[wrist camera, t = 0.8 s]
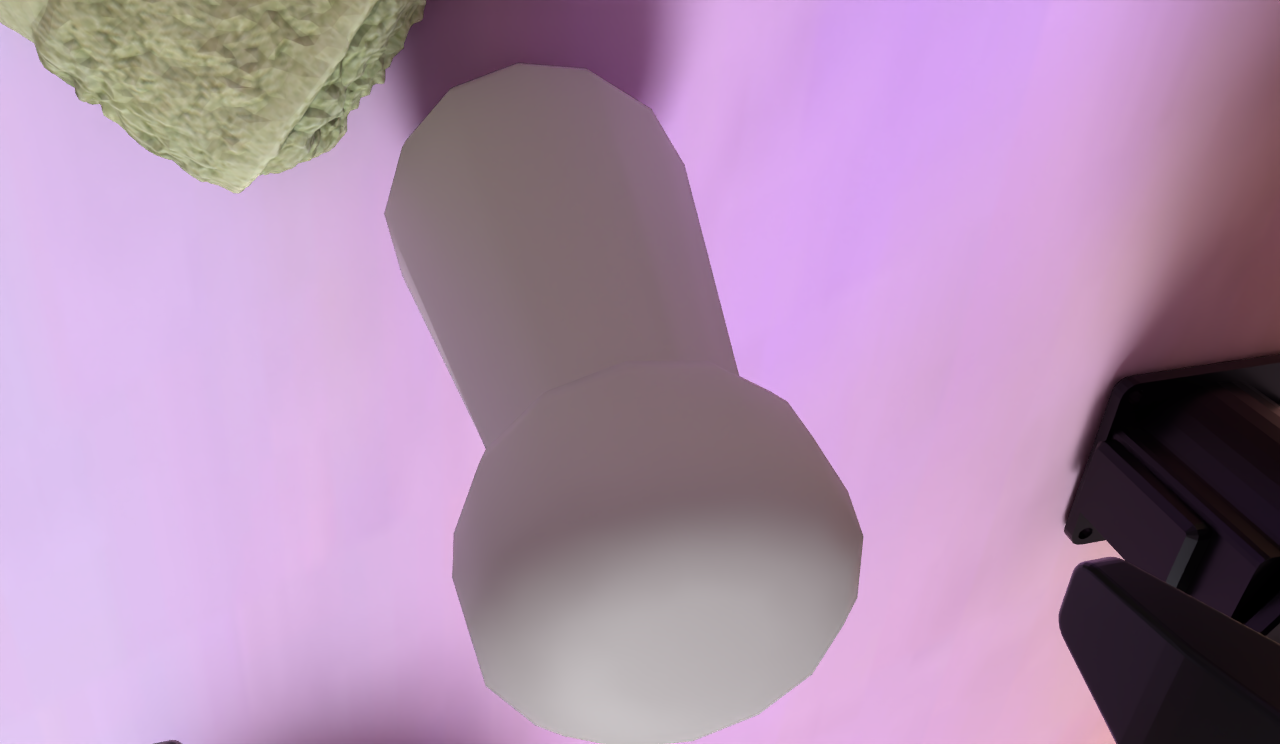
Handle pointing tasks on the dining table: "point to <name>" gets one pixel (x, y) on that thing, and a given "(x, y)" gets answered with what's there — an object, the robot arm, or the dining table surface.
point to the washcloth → (221, 72)
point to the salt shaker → (610, 423)
